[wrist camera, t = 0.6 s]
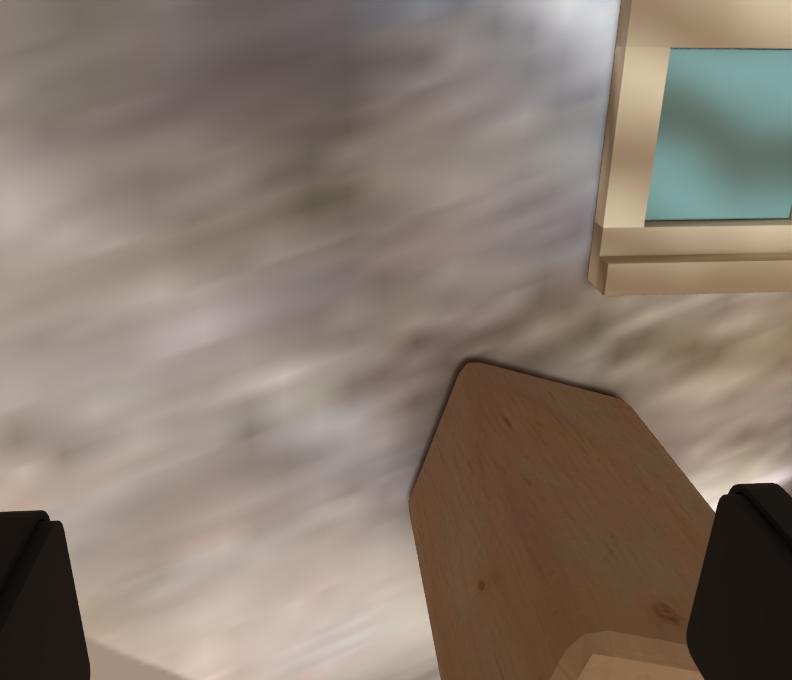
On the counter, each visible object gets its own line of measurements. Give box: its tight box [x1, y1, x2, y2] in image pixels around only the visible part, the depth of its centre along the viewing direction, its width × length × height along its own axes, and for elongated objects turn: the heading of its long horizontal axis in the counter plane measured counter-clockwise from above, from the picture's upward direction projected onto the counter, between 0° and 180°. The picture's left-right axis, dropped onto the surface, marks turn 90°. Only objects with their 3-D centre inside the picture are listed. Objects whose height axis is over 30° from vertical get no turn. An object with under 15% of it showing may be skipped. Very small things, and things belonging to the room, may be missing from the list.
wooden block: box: [409, 362, 715, 680], centre depth 33 cm, size 10×10×20 cm
